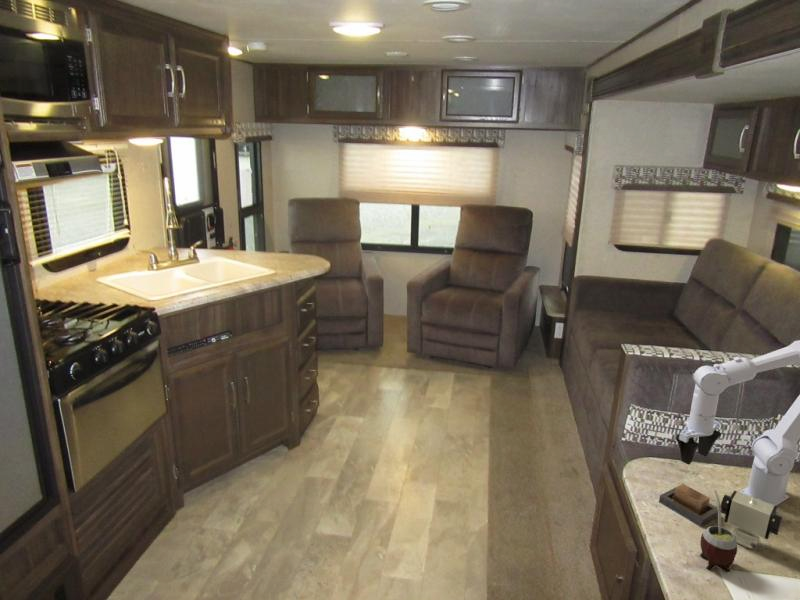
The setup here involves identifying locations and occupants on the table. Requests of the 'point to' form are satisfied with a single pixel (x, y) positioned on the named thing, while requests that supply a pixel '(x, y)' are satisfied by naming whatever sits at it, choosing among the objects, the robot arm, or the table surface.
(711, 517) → the duct collar
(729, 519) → the pneumatic valve
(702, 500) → the brown rectangular block
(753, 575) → the table surface
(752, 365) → the robot arm
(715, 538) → the mate gourd
